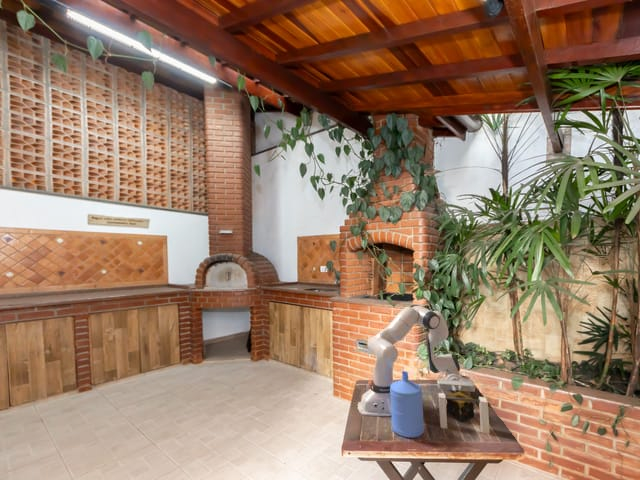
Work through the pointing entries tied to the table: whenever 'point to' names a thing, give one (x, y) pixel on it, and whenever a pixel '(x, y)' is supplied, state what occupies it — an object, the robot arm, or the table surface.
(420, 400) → the water jug
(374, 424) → the table surface
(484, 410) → the frame
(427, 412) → the table surface
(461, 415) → the candle
